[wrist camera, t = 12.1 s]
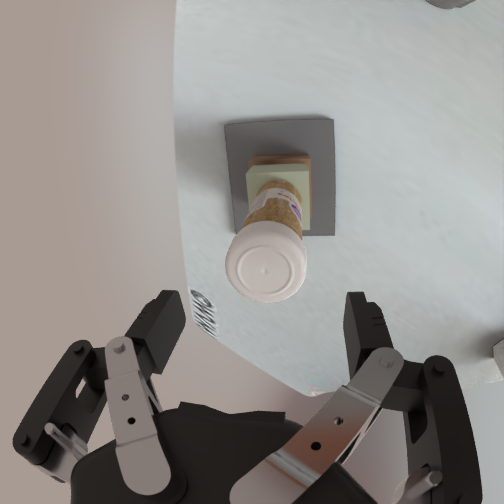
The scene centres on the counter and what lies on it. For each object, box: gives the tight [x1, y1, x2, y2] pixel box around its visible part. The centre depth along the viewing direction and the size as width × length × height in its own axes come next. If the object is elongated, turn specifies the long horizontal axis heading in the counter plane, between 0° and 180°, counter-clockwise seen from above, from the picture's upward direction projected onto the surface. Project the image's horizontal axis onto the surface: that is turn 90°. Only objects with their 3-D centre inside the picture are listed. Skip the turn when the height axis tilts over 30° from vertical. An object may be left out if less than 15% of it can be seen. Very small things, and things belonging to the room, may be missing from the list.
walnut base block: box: [248, 154, 312, 218], centre depth 34 cm, size 7×7×5 cm
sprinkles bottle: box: [225, 180, 307, 303], centre depth 21 cm, size 5×5×14 cm
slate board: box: [224, 119, 336, 236], centre depth 36 cm, size 14×16×1 cm
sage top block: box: [246, 163, 310, 230], centre depth 29 cm, size 6×6×5 cm
